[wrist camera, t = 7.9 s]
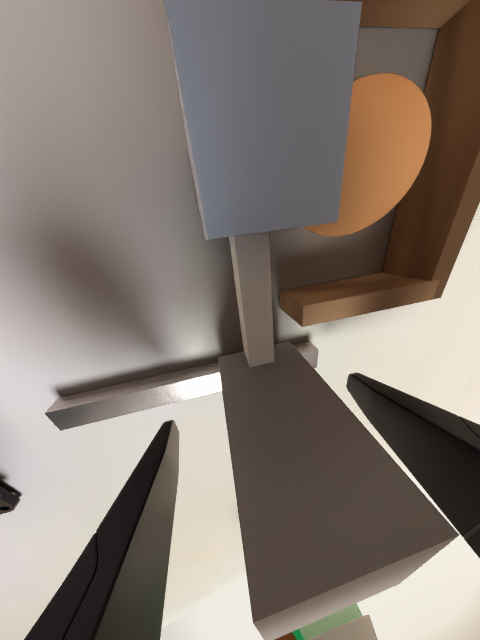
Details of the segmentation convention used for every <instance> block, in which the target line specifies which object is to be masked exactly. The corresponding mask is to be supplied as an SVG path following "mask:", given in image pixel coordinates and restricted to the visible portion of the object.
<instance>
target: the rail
mask: <svg viewBox="0 0 480 640" xmlns="http://www.w3.org/2000/svg"><path fill="white" fill-rule="evenodd" d="M294 346H295V348H296V349H297V350H298V351H299V352H300V353H301V354H302V356H303V357H304V358H305V359H306V360H307V361H308V362H309V364H310V365H311V366H312V367H313V368H316V367H317V358H318V349H317V348H316V347H315V346H314V345H313V344H312V343H311V342H310V341H308V342H304V343H299V344H295V345H294ZM219 391H222V386H221V378H220V371H219V363H218V362H215V363H210V364H206V365H201V366H197V367H192V368H188V369H183V370H179V371H174V372H170V373H165V374H161V375H157V376H152V377H148V378H143V379H139V380H134V381H130V382H125V383H121V384H116V385H112V386H108V387H103V388H99V389H94V390H90V391H85V392H81V393H76V394H72V395H67V396H63V397H59V398H58V399H57V400H56V401H55V403H54V404H53V405H52V406H51V407H50V408H49V409H48V410H47V411H46V412H45V414H46V415H47V417H48V418H49V419H50V420H51V421H52V422H53V423H54V424H55V425H56V426H57V427H58V428H59V429H60V431H61V430H65V429H69V428H73V427H77V426H81V425H85V424H89V423H93V422H97V421H101V420H105V419H109V418H113V417H117V416H121V415H126V414H130V413H134V412H138V411H142V410H146V409H150V408H154V407H158V406H162V405H166V404H170V403H174V402H178V401H182V400H186V399H191V398H195V397H199V396H203V395H207V394H211V393H215V392H219Z"/></svg>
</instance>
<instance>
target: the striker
mask: <svg viewBox="0 0 480 640" xmlns="http://www.w3.org/2000/svg"><path fill="white" fill-rule="evenodd" d="M164 2H165V8H166V14H167V21H168V27H169V33H170V40H171V46H172V52H173V59H174V65H175V71H176V78H177V84H178V90H179V97H180V103H181V110H182V116H183V122H184V129H185V135H186V141H187V148H188V153H189V158H190V164H191V169H192V174H193V179H194V185H195V190H196V195H197V200H198V206H199V211H200V216H201V222H202V227H203V232H204V237H205V240H210V239H217V238H225V237H229V242H230V250H231V257H232V265H233V272H234V280H235V287H236V295H237V302H238V309H239V317H240V324H241V332H242V339H243V347H244V351H243V352H239V353H234V354H230V355H225V356H221V357H218V363H219V371H220V378H221V386H222V393H223V401H224V408H225V416H226V423H227V430H228V438H229V445H230V453H231V460H232V468H233V475H234V483H235V490H236V498H237V505H238V513H239V520H240V528H241V535H242V543H243V550H244V558H245V565H246V573H247V580H248V587H249V595H250V603H251V610H252V618H253V623H254V625H255V626H256V628H257V629H258V631H259V632H260V634H261V635H262V637H263V638H264V640H275V639H277V638H279V637H281V636H283V635H286V634H288V633H290V632H292V631H295V630H297V629H299V628H301V627H304V626H306V625H308V624H310V623H313V622H315V621H317V620H319V619H322V618H324V617H326V616H328V615H331V614H333V613H335V612H337V611H339V610H342V609H344V608H346V607H348V606H351V605H353V604H355V603H357V602H360V601H362V600H364V599H366V598H369V597H371V596H373V595H375V594H378V593H380V592H382V591H384V590H387V589H389V588H391V587H393V586H396V585H398V584H400V583H401V582H402V581H403V580H404V579H406V578H407V577H408V576H409V575H411V574H412V573H413V572H414V571H416V570H417V569H418V568H419V567H421V566H422V565H423V564H424V563H425V562H427V561H428V560H429V559H430V558H432V557H433V556H434V555H435V554H436V553H438V552H439V551H440V550H442V549H443V548H444V547H445V546H446V545H448V544H449V543H450V542H451V541H453V540H454V539H455V538H456V537H458V536H459V534H458V533H457V532H456V531H455V530H454V528H453V527H452V526H451V525H450V524H449V523H448V522H447V520H446V519H445V518H444V517H443V516H442V515H441V514H440V512H439V511H438V510H437V509H436V508H435V507H434V505H433V504H432V503H431V502H430V501H429V500H428V499H427V498H426V496H425V495H424V494H423V493H422V492H421V491H420V489H419V488H418V487H417V486H416V485H415V484H414V483H413V481H412V480H411V479H410V478H409V477H408V476H407V475H406V473H405V472H404V471H403V470H402V469H401V468H400V467H399V465H398V464H397V463H396V462H395V461H394V460H393V459H392V457H391V456H390V455H389V454H388V453H387V452H386V451H385V449H384V448H383V447H382V446H381V445H380V444H379V443H378V441H377V440H376V439H375V438H374V437H373V436H372V435H371V433H370V432H369V431H368V430H367V429H366V428H365V427H364V425H363V424H362V423H361V422H360V421H359V420H358V419H357V417H356V416H355V415H354V414H353V413H352V412H351V411H350V409H349V408H348V407H347V406H346V405H345V404H344V403H343V401H342V400H341V399H340V398H339V397H338V396H337V395H336V393H335V392H334V391H333V390H332V389H331V388H330V387H329V385H328V384H327V383H326V382H325V381H324V380H323V378H322V377H321V376H320V375H319V374H318V373H317V372H316V370H315V369H314V368H313V367H312V366H311V365H310V364H309V362H308V361H307V360H306V359H305V358H304V357H303V356H302V354H301V353H300V352H299V351H298V350H297V349H296V348H295V346H294V345H293V344H292V343H291V342H290V341H289V342H284V343H280V344H275V345H274V337H273V313H272V289H271V265H270V241H269V231H277V230H284V229H291V228H298V227H305V226H313V225H320V224H327V223H334V222H338V215H339V206H340V197H341V188H342V179H343V170H344V161H345V151H346V142H347V133H348V124H349V115H350V106H351V97H352V88H353V79H354V70H355V61H356V52H357V43H358V34H359V25H360V16H361V7H362V2H354V1H332V0H164Z"/></svg>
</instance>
